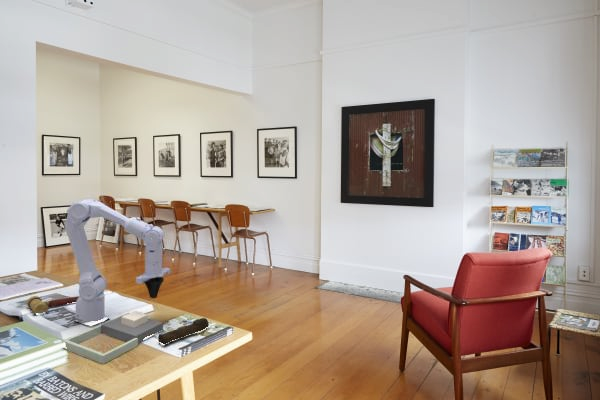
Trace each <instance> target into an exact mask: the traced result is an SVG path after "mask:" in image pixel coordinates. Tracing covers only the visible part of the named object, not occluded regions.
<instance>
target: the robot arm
mask: <svg viewBox="0 0 600 400" xmlns="http://www.w3.org/2000/svg"><path fill="white" fill-rule="evenodd" d="M66 213H67V215H66V216H67V217H66V219H65V225H64V228H65V231H66V235H67V237H68V240H69V243H70V247H71V250H72V253H73V255H74V259H75V263H76V265H77V268H78V271H79V274H80V275H79V278H78V283H77V284H78V285H79V288H78V295H79V296H80V297H79V298H78V299H77V301H76V303H75V319H76V318H78V319H81V320H83V321H86V322H90V321H98V320H101V319H103V318H104V317H106V316H105V309H106V308H105V303H106V302H105V300H106V299H105V298H106V297H105V296H106V295H105V292H104V291H105V290H106V289H107V286H108V281H107V279H106V278H105V277H104V276H103V274H102V272H101V270H99V269H98V268H97V266H96V262H95V259H94V256H93V252H92V249H91V246H90V244H89V240H88V237H87V234H86V230H85V225H87V223H88V222H89V220H90V219H95V218H103V219H106V220H108V221H110V222H113V223H115V224H117V225H120V226H122V227H123V229H124V230H125V232H126V233H127V234H131V235H132V236H135V237H136V238H138V239H141V240H143V242H144V243H145V258H144V259H145V260H144V261H145V262H144V263H145V266H144V267H145V269H144V273H142V274H141V275H139V276H136V277H135V283H136V284H138V285H141V284H143V283H144V284H145V287H146V290H147V291H148V294H149V298H150V299H157V298H158V293H159V291H160V288H161V286H162V284H163V282H164V280H165V279H164V276H165V275H169V274H171V268H168V267H163V240H164V237H165V231H164V229H162V227H160V226H157V225H155V226H154V225H153V224H152V223H150V224H149V223H147V222H145V221H143V220H141V217H135V216H133V217H130V218H129V217H127V216H125V215H123V214H122V213H120V212H118V211H116V210H114V209H113V208H111V207H110V206H108V205H106V204H104V203H103V202H101V201H98V200H96V199H94V198H90V197H88V198H85V199H82V200H77V201H75V202H72V204H71V205H69V207H68V209H67V210H66Z"/></svg>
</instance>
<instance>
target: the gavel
mask: <svg viewBox="0 0 600 400" xmlns="http://www.w3.org/2000/svg"><path fill="white" fill-rule="evenodd" d="M79 297H80V295H79V296H72V297H66V298H59V299H51V300H47V301H43V300H42V299H41V298H40V296H38V295H37V296H36V295H34V296H30V297H29V298H28V299H27V301H26V306H27V307H28V308H29V307H31V310H32V312H34V313H43V312H47V313H48V311H49V308H53V307H52V306H55V307H59V306H58V305H62V306H64V305H63V304H67V303H72V302H76V301H77V299H78V298H79ZM34 313H33V314H34Z"/></svg>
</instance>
